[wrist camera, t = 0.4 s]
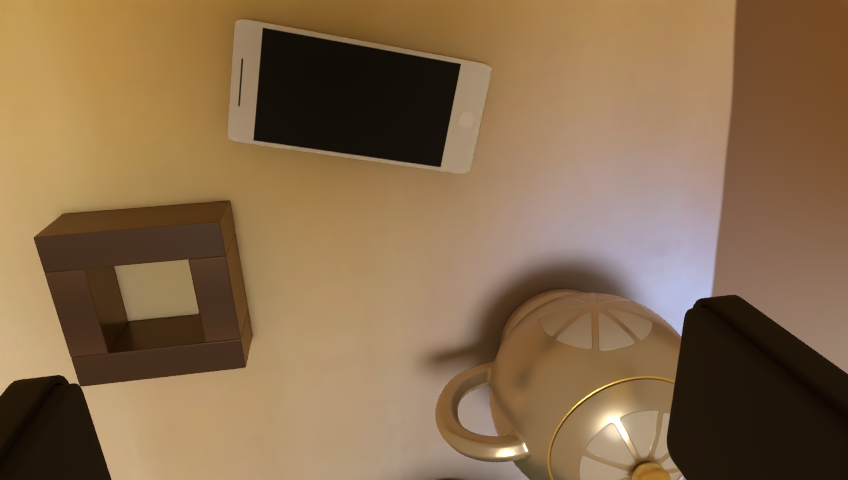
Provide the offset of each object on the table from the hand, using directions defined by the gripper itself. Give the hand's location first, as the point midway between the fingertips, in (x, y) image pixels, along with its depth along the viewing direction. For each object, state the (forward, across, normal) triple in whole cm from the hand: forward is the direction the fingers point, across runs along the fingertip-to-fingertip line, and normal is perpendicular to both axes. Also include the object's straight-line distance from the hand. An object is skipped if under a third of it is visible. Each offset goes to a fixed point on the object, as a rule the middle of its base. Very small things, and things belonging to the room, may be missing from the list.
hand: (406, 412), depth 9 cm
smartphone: (+30, -1, 0) cm, 30 cm away
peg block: (+30, +13, +11) cm, 35 cm away
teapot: (+30, -13, +19) cm, 38 cm away
